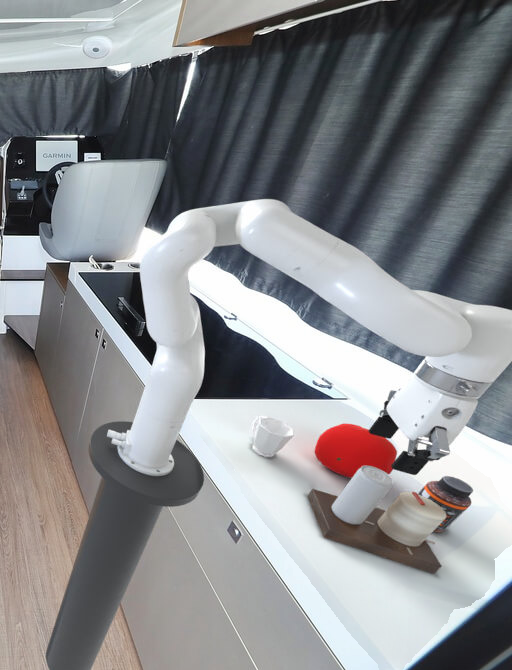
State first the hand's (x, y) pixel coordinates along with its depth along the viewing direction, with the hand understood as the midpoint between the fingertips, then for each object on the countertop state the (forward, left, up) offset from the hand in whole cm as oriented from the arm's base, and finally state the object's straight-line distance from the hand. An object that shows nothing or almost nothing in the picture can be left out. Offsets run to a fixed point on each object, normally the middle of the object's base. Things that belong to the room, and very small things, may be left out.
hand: (390, 452), depth 77 cm
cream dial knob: (+8, 0, -18) cm, 19 cm away
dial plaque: (+4, 0, -20) cm, 21 cm away
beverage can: (0, 0, -18) cm, 18 cm away
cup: (-10, +19, -20) cm, 29 cm away
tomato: (+7, +19, -20) cm, 29 cm away
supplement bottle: (+16, +9, -20) cm, 28 cm away
